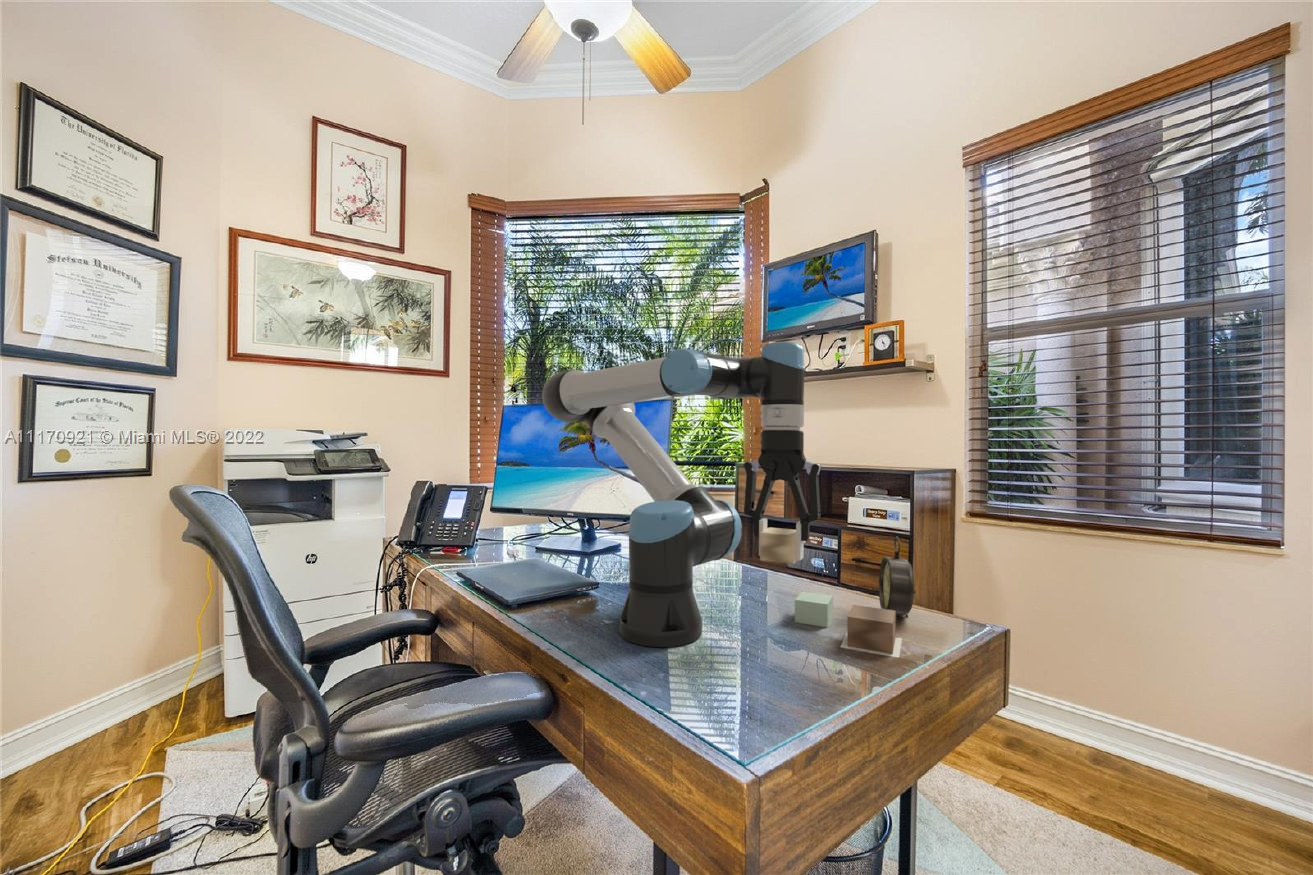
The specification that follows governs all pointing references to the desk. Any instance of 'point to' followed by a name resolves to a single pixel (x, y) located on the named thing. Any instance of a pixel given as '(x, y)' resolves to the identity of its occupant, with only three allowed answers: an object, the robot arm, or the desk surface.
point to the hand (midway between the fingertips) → (781, 556)
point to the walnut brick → (871, 629)
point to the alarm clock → (896, 584)
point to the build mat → (895, 652)
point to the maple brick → (778, 545)
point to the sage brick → (814, 609)
